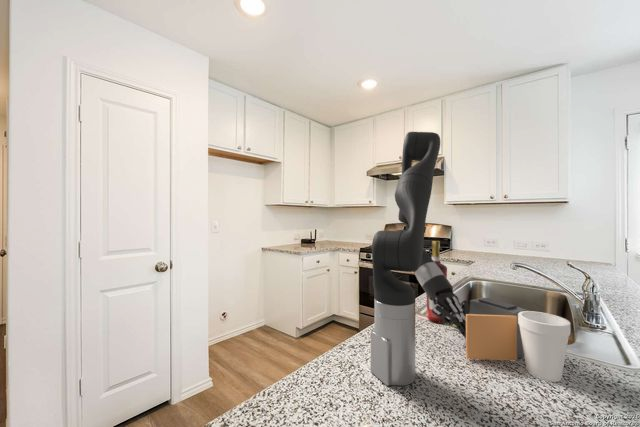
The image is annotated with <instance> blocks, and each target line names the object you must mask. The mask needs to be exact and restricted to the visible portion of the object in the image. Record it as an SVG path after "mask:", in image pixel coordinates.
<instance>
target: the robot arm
mask: <svg viewBox="0 0 640 427" xmlns="http://www.w3.org/2000/svg"><path fill="white" fill-rule="evenodd" d="M440 149H441V138H440V135H439V134H438V133H437V132H433V131H431V132H430V131H408V132H407V133H406V135H405V137H404V139H403V146H402V160H401V161H402V163H401V175H400V177H399V179H398V181H397V184H396V189H395V190H394V191H395V192H394V199H395V202H396V206H397V207H398V209H399V211H398V216H397V217H398V221H400V222H401V223H403V224H405V228H406V229H396V230H378V231H376V233H375V234H374V236H373V238H372V241H371V242H372V244H371V261H372V262H371V263H372V280H373V281H372V286H373V292H374V295H373V296H374V299H373V300H374V303H373V304H374V319H373V321H374V325H373V326H374V328H373V329H374V330H371V331H370V373H371V374H373V375H374V376H375V377H376V378H378V380H380V381H381V382H382V383H383V384H384V385H385V386H388V387H389V386H392V385H393V386H407V385H410V384H412V383H414V382H415V380H416V291H415V289H414V288H413V287H412V286H411V285H409V284H407V283H405V282H404V281H401V280H400V279H398V278H397V277H396V276H395V275H394V274H393V273H392V272H393V271H395V272H396V271H397V272H403V273H405V272H406V273H414V275H415V277H416V280H417V281H418V283H419V284H420V286H421V288H422V289H423V290H424V293H425V295H426V294H427V296H428V297H429V299H430V300H432V301H433V302H434V304H435V307H434V308H433V309H432V312H433V313H434V314H435V315H437V316H438V317H439V318H441V319H442V320H444V321H443V322H445V323H446V324H448V325H453V324H454V325H455V326H457V328H458V329H459V331H458V332H460V334H461V335H462V336H463V337H464V339H465V340H466V314H470V307H469V302H468V300H466V299H464V300H460V299H459V297H458V296H457V295H456V294H455V293H454V287H453V285H452V283H450V281H449V279H448V277H447V278H446V277H445V275H444V274H443V273H442V271H441V270H440V268H439V267H438V266H437V265H436V264H435V263H434V261H433V260H432V256H431V255H430V254H429V253H428V252H427V251H426V250H424V242H425V230H426V220H427V215H428V209H429V204H430V199H431V196H432V189H433V182H434V172H435V169H436V168H435V167H436V164H437V161H438V157H439V153H440ZM413 161H414V162H416V163H415V164H413V163H412V162H413ZM412 164H413V165H412ZM459 315H460V316H459Z"/></svg>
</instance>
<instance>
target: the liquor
mask: <svg viewBox="0 0 640 427" xmlns="http://www.w3.org/2000/svg"><path fill="white" fill-rule="evenodd" d="M431 248H432V249H431V250H432V251H431V258H432V260H433V261H434V263H435V264H436V265H437V266H438V267H439V268H440V270H441V271H442V273H443V274H444V275H445V277H446V278H447V279H448V267H447V266H446V265H445V264H443V263H441V255H440V248H441V241H440V240H431ZM425 295H426V297H425V298H426V313H425V317H426V318H427V319H428V320H429V321H430V320H431V321H430V322H432V321H433V323H437V322H440V323H442V322H445V321H444V320H442V319H441V318H439V317H438V316H437V315H435V314H434V313H433V312H432V309H433V308H434V307H435V304H434V302H433V301H432V300H430V299H429V297H428V296H427V294H426V293H425Z"/></svg>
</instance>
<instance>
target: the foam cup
mask: <svg viewBox="0 0 640 427" xmlns="http://www.w3.org/2000/svg"><path fill="white" fill-rule="evenodd" d="M518 324H519V326H520V332H521V338H522V345H523V351H524V356H523V357H524V364H525V367H526V371H527V372H528V374H529V375H531V376H533V377H535V378H538V379H540V380H542V381H547V382H551V383H552V382H554V383H557V382H561V380H562V376H563V373H564V367H565V366H564V365H565V362H566V356H567V348H568V343H569V342H568V341H569V336H570V335H571V322H570V320H568V319H567V318H564V317H562V316H559V315H556V314H552V313H547V312H541V311H533V310H527V311H522V312H519V313H518Z"/></svg>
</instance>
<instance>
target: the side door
mask: <svg viewBox="0 0 640 427" xmlns="http://www.w3.org/2000/svg"><path fill="white" fill-rule="evenodd" d="M465 357H466V358H465V359H469V360H490V361H491V360H493V361H495V360H496V361H511V362H512V361H513V362H515V361H516V362H517V361H518V359H517V317H516V316H511V315H479V314H470V313H469V314H466V339H465Z"/></svg>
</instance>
